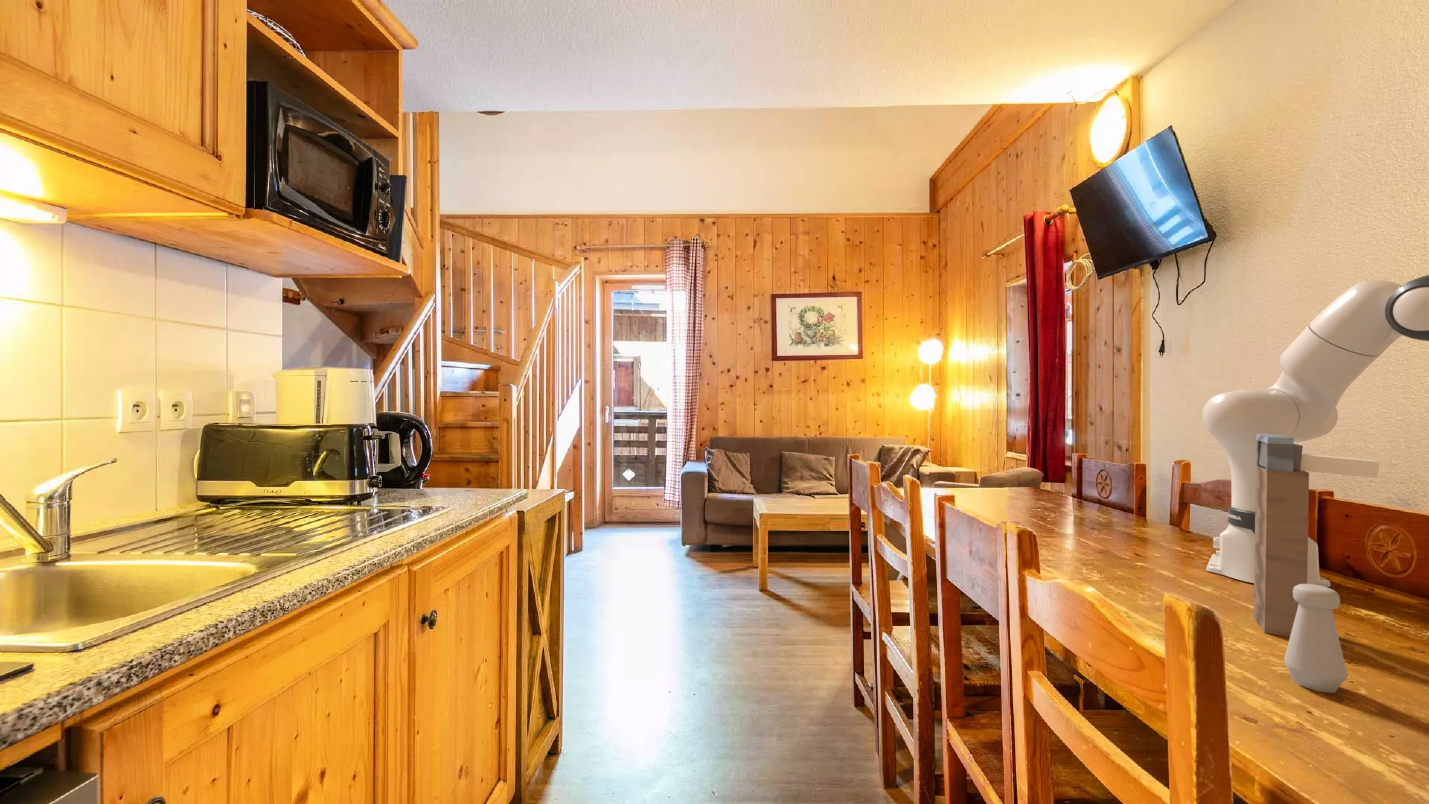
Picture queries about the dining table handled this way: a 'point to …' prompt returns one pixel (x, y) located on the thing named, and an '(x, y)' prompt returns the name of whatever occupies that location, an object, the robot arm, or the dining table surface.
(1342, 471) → the cream bar
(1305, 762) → the dining table surface
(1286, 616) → the post
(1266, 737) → the dining table surface
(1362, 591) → the dining table surface
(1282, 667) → the dining table surface
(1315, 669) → the salt shaker
